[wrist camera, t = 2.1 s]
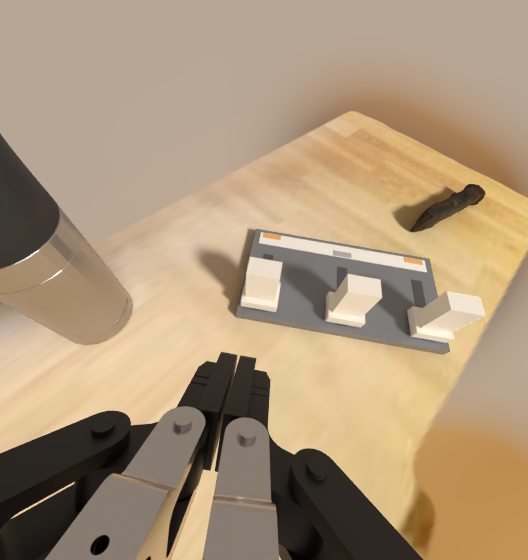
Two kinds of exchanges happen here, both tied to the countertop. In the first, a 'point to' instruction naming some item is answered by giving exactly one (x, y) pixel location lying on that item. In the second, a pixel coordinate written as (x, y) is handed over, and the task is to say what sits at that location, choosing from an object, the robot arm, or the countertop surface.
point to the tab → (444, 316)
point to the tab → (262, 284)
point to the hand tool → (449, 207)
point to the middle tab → (352, 300)
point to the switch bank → (328, 277)
